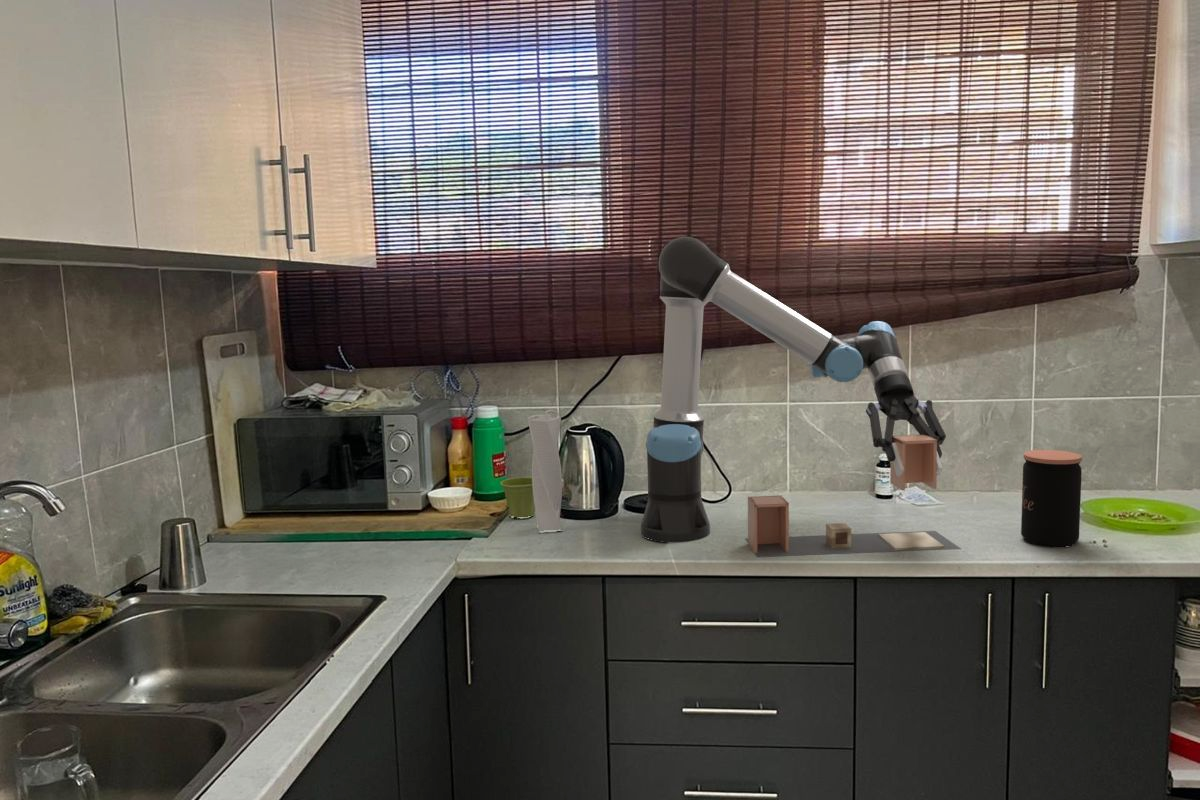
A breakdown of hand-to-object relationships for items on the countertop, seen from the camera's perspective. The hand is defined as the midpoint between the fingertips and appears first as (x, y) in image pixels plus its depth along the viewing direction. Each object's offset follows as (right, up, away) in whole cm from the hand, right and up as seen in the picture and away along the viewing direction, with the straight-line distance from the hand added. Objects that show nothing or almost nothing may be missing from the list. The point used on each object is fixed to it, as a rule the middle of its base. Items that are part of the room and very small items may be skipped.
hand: (919, 472), depth 177 cm
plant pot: (-83, -14, +37) cm, 92 cm away
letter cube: (-15, -15, +5) cm, 22 cm away
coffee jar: (+28, -15, +4) cm, 32 cm away
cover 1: (-29, -16, +5) cm, 34 cm away
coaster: (0, -15, +6) cm, 16 cm away
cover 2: (0, -3, +4) cm, 5 cm away
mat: (-12, -15, +6) cm, 21 cm away
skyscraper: (-75, -15, +25) cm, 81 cm away
